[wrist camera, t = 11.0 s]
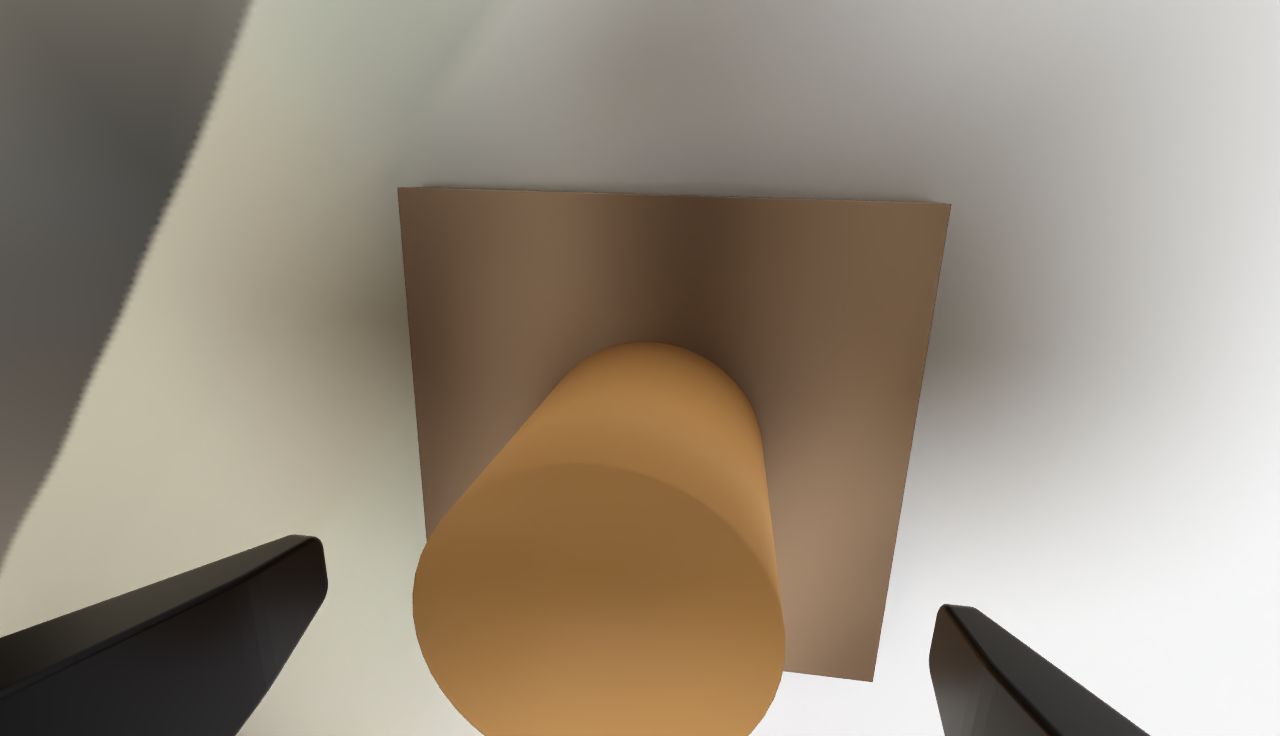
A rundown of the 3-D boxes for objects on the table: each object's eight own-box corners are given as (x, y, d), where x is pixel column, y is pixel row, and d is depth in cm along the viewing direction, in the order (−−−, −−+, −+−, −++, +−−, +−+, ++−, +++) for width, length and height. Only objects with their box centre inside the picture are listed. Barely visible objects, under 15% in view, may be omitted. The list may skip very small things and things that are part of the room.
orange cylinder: (542, 537, 15) (426, 757, 9) (537, 335, 14) (396, 446, 8) (753, 558, 14) (768, 807, 9) (771, 349, 13) (804, 481, 7)
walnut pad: (450, 603, 17) (433, 628, 16) (420, 187, 14) (397, 187, 13) (863, 651, 16) (872, 682, 15) (934, 202, 13) (951, 204, 12)
